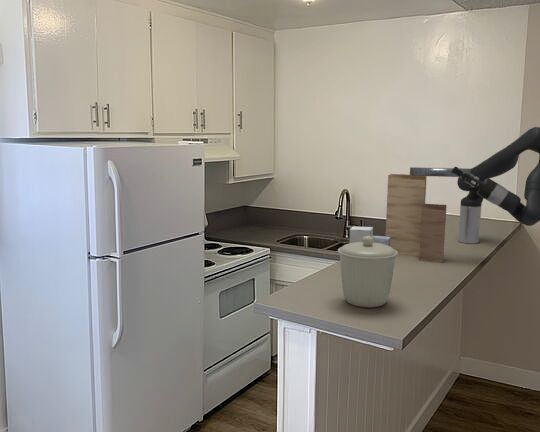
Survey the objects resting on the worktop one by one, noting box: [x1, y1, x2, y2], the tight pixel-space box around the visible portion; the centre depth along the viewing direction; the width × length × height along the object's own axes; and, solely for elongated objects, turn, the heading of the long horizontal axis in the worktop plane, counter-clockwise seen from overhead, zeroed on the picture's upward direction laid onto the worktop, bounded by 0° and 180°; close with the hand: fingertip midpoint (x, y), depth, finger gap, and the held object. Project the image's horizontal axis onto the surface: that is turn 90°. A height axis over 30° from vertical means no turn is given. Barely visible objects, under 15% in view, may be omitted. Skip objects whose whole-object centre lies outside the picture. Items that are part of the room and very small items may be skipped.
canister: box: [337, 236, 398, 308], centre depth 172 cm, size 18×18×21 cm
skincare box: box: [349, 226, 374, 243], centre depth 214 cm, size 8×7×16 cm
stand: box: [385, 173, 428, 257], centre depth 237 cm, size 7×15×34 cm, turn 70°
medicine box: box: [373, 235, 390, 246], centre depth 231 cm, size 8×4×9 cm, turn 65°
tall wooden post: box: [418, 203, 447, 264], centre depth 227 cm, size 7×9×22 cm
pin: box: [409, 166, 472, 178], centre depth 222 cm, size 3×23×3 cm, turn 70°
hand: (453, 168), depth 220 cm, fingers closed on pin, 3 cm apart
